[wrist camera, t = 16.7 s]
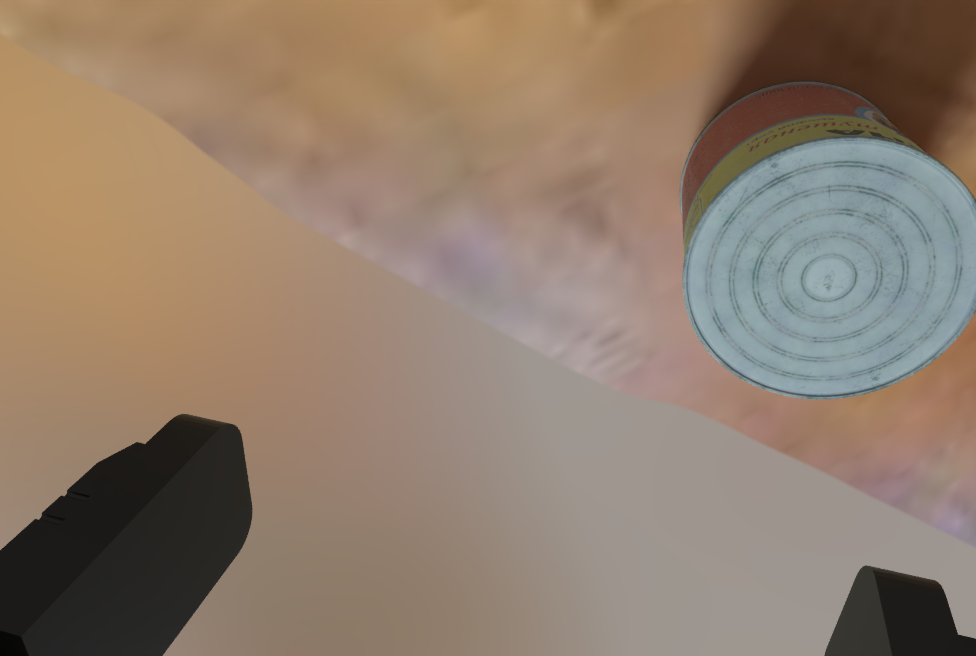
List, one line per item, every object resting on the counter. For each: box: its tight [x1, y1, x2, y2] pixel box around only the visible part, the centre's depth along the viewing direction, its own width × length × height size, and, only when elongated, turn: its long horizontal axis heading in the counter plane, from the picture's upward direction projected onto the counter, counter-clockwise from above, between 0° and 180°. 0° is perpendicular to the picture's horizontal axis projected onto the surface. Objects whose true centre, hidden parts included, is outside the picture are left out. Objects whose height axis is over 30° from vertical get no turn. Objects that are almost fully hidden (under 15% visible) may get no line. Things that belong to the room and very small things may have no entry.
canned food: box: [680, 81, 976, 399], centre depth 36 cm, size 11×11×12 cm
